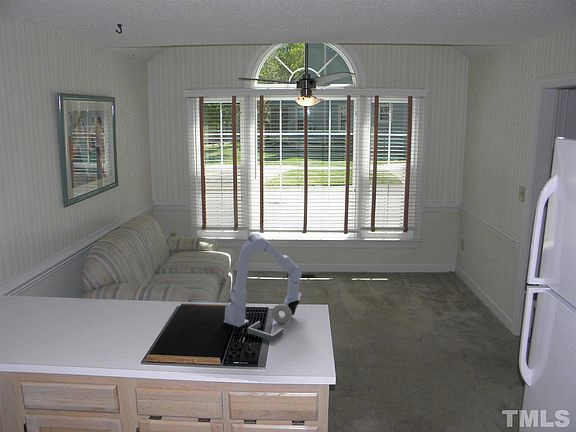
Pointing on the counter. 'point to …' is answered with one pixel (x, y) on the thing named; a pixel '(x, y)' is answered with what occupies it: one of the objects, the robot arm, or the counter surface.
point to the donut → (285, 309)
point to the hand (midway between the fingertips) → (291, 314)
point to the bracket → (264, 335)
